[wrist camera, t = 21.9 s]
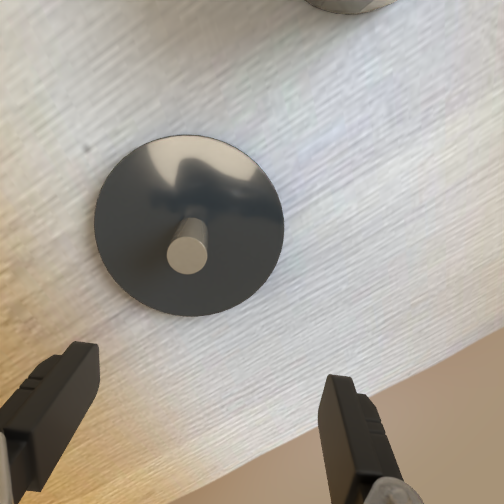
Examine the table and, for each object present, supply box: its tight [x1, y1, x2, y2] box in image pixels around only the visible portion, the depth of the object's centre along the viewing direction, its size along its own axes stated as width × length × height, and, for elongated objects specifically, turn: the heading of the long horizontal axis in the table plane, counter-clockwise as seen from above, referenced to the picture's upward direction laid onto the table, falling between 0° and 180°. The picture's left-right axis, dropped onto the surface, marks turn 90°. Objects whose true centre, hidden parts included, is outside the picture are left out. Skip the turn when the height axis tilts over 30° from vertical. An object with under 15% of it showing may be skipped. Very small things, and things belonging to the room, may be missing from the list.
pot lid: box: [94, 135, 284, 316], centre depth 24 cm, size 14×14×6 cm
